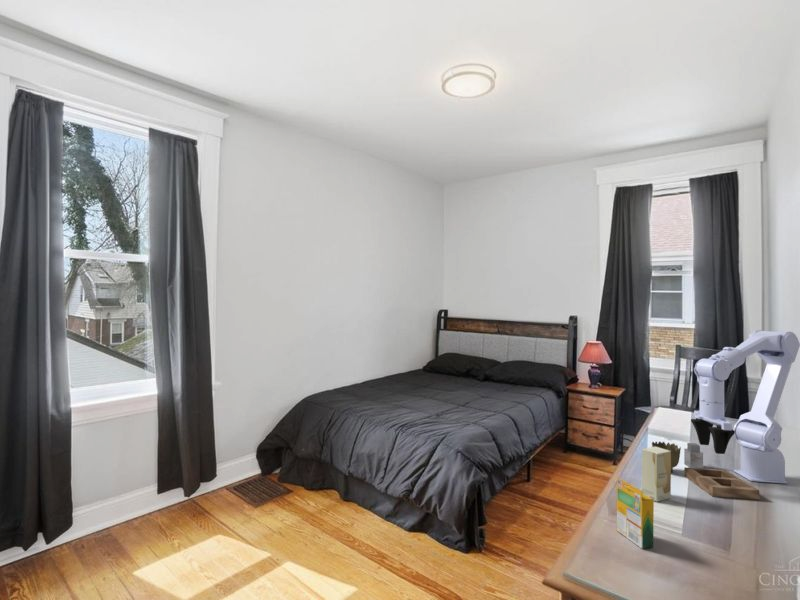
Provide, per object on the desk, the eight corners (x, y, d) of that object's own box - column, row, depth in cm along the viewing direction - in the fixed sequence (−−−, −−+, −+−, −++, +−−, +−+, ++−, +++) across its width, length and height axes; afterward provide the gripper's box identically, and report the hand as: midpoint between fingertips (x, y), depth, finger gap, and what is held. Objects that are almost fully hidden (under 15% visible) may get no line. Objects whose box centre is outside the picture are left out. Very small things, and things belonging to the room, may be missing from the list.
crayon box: (654, 548, 85) (654, 490, 85) (641, 549, 84) (642, 491, 84) (627, 529, 92) (627, 476, 92) (616, 530, 91) (616, 477, 92)
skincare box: (657, 502, 105) (657, 453, 106) (640, 495, 109) (640, 448, 109) (672, 497, 108) (671, 450, 109) (655, 491, 112) (655, 445, 112)
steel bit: (696, 465, 133) (696, 442, 133) (703, 469, 129) (703, 446, 129) (684, 464, 133) (684, 442, 133) (690, 468, 130) (690, 445, 130)
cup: (685, 477, 122) (685, 449, 123) (657, 474, 124) (657, 447, 124) (674, 467, 130) (674, 442, 130) (648, 465, 131) (648, 440, 131)
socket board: (725, 478, 122) (725, 470, 122) (759, 500, 108) (759, 490, 108) (684, 475, 123) (684, 467, 123) (712, 496, 109) (712, 486, 109)
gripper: (683, 395, 127) (683, 440, 127) (711, 406, 113) (711, 456, 113) (708, 396, 126) (708, 441, 126) (740, 407, 112) (740, 458, 112)
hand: (711, 448), depth 119 cm, fingers open, 7 cm apart
